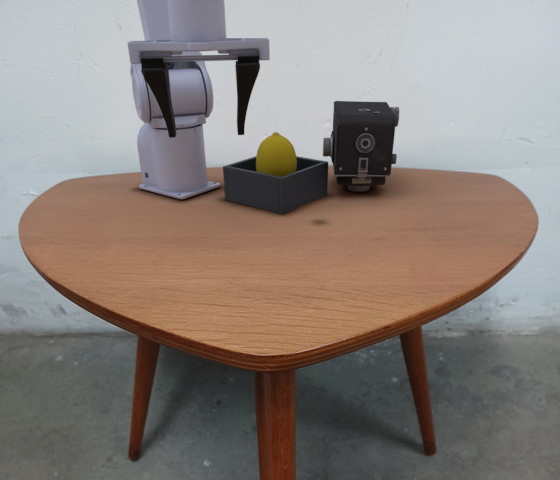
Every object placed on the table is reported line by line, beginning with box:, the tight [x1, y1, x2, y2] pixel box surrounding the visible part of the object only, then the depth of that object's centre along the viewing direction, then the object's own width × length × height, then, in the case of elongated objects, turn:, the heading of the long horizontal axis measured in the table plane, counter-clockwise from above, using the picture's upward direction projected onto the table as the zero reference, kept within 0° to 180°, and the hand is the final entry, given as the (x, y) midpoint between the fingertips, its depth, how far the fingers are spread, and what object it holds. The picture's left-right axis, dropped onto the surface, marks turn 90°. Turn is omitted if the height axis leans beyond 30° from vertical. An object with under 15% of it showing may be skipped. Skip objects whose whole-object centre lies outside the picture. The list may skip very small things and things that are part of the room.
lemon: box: [256, 131, 297, 177], centre depth 75 cm, size 6×6×8 cm
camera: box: [322, 100, 400, 192], centre depth 79 cm, size 11×11×15 cm
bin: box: [222, 155, 329, 215], centre depth 76 cm, size 10×10×4 cm
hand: (206, 134), depth 63 cm, fingers open, 7 cm apart
